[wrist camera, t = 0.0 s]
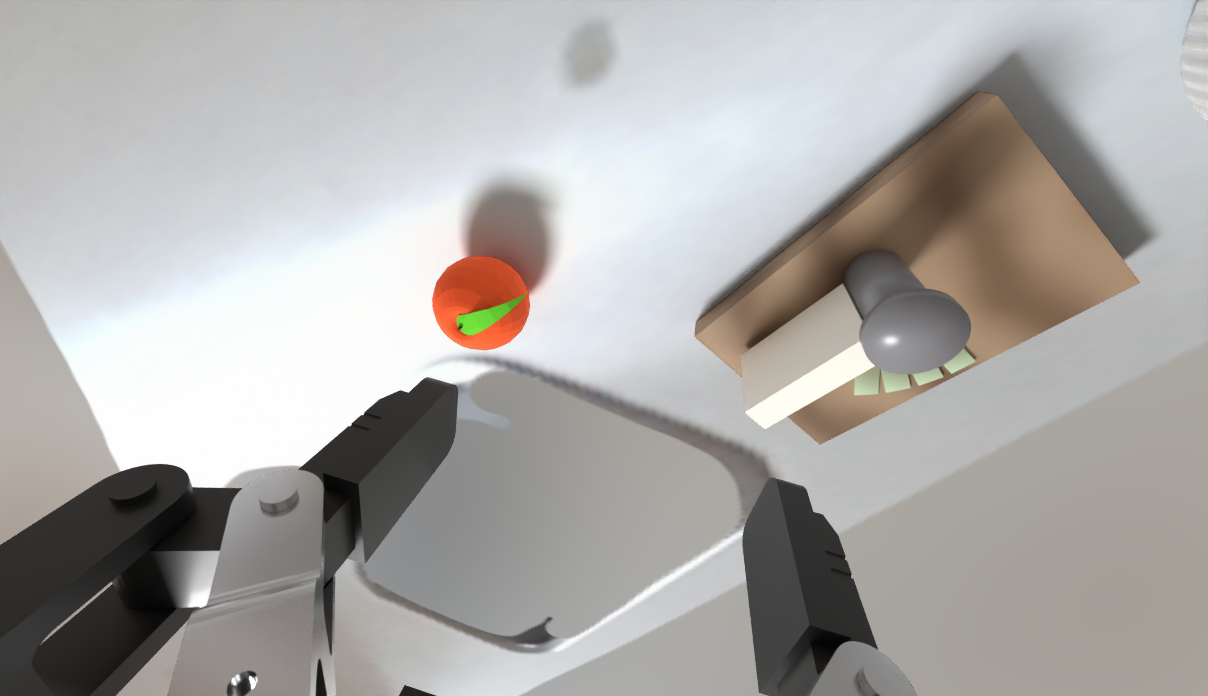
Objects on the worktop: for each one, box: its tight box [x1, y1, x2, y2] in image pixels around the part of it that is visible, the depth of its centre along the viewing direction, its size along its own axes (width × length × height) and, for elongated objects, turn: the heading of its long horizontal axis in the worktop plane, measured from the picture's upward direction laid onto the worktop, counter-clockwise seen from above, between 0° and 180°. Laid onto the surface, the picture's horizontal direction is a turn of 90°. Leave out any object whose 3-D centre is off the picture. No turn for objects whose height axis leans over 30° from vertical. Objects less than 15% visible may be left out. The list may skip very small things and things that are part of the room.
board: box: [695, 92, 1140, 444], centre depth 29 cm, size 20×14×2 cm
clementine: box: [432, 256, 530, 350], centre depth 33 cm, size 8×7×7 cm
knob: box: [741, 250, 971, 429], centre depth 26 cm, size 12×4×7 cm, turn 142°
